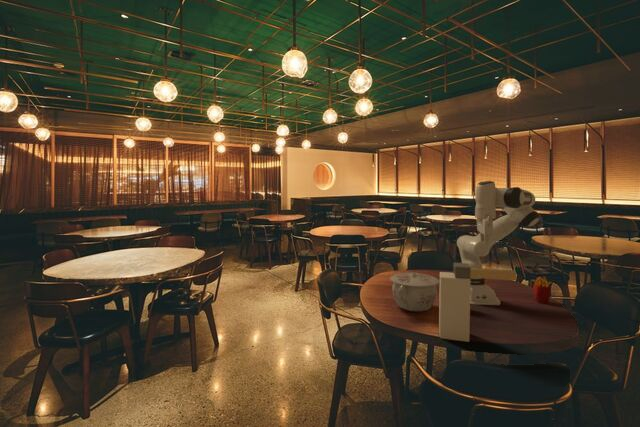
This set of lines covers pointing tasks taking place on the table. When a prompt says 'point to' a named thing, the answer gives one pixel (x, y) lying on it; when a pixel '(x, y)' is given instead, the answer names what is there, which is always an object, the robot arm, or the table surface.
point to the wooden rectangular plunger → (492, 274)
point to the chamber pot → (414, 291)
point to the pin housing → (455, 303)
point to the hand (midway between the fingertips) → (484, 242)
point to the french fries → (541, 290)
